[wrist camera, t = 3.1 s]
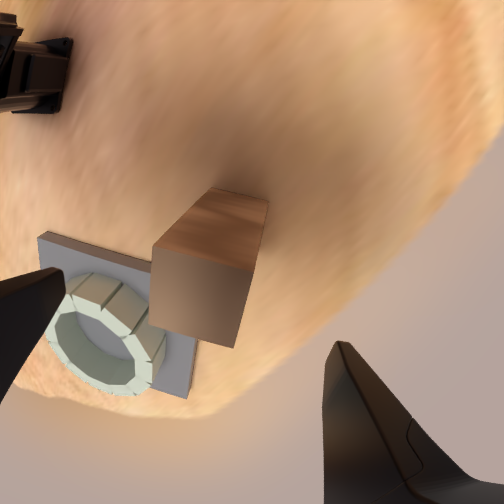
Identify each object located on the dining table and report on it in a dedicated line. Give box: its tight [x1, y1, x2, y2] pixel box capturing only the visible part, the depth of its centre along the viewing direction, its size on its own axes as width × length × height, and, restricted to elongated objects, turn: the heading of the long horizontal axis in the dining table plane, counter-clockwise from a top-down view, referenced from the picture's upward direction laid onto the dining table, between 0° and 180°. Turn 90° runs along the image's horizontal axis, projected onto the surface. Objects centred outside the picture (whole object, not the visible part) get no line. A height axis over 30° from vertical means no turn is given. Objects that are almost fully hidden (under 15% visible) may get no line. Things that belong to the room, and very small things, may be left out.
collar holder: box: [37, 231, 198, 399], centre depth 24 cm, size 16×14×5 cm
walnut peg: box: [148, 188, 269, 348], centre depth 17 cm, size 4×4×10 cm
